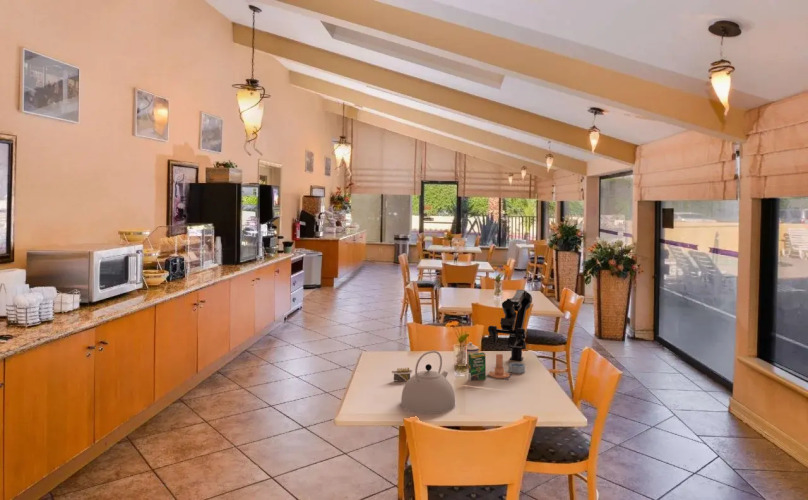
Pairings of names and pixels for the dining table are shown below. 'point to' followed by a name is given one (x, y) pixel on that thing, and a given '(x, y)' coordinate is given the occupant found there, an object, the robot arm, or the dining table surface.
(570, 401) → the dining table surface
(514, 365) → the bowl
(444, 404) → the kettle
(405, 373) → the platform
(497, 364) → the wooden peg stand
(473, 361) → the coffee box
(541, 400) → the dining table surface
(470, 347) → the teacup with lid
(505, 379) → the mat
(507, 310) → the robot arm
